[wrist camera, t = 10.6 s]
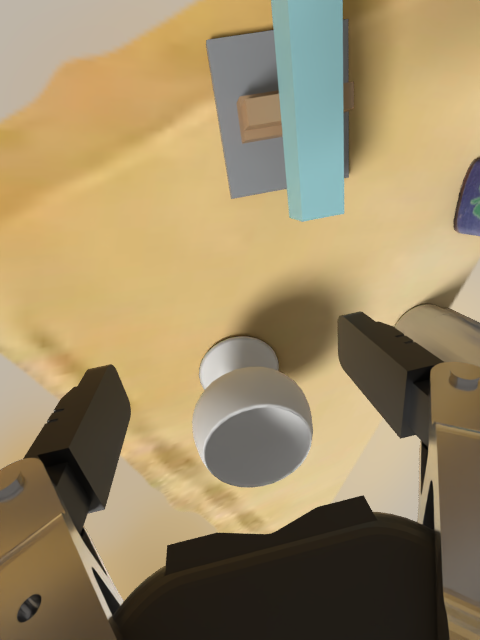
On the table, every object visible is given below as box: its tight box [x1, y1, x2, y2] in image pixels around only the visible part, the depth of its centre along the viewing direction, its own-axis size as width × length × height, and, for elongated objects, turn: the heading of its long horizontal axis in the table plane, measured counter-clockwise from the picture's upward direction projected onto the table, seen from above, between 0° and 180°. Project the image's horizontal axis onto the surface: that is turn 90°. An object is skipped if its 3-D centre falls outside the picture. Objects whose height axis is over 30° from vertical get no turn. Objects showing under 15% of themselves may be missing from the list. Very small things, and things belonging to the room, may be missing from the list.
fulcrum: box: [206, 19, 354, 199], centre depth 29 cm, size 14×14×6 cm
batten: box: [271, 0, 344, 222], centre depth 25 cm, size 4×18×4 cm, turn 9°
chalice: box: [192, 336, 313, 487], centre depth 38 cm, size 14×14×15 cm
